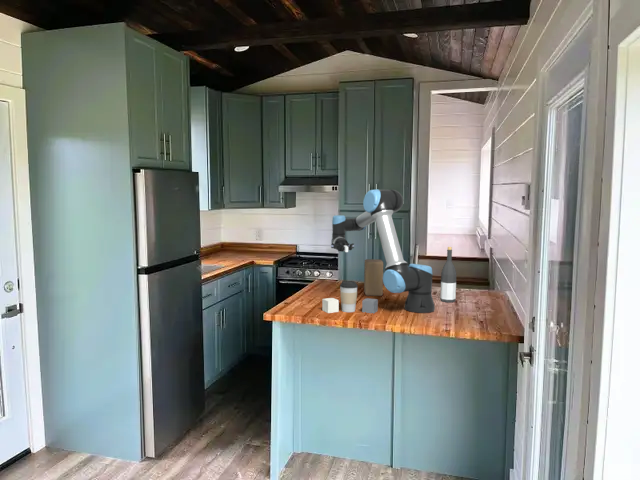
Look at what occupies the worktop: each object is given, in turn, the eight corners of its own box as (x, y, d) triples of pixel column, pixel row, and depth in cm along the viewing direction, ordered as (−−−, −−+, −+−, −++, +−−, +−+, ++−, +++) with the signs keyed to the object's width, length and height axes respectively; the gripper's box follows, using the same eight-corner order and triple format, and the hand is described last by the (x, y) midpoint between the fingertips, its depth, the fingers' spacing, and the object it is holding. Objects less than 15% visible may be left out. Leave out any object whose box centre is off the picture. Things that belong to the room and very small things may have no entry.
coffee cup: (359, 309, 245) (359, 280, 244) (355, 313, 237) (355, 283, 235) (341, 307, 248) (342, 279, 246) (337, 312, 239) (338, 282, 237)
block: (380, 292, 285) (381, 259, 282) (382, 296, 275) (383, 261, 272) (363, 292, 285) (364, 259, 282) (365, 296, 275) (366, 261, 272)
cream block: (338, 311, 240) (338, 300, 239) (328, 313, 237) (328, 301, 236) (332, 309, 245) (332, 297, 244) (322, 310, 242) (322, 298, 241)
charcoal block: (377, 311, 242) (377, 299, 241) (373, 313, 237) (373, 301, 236) (366, 309, 245) (366, 298, 244) (362, 312, 239) (362, 300, 239)
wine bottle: (446, 303, 259) (448, 248, 256) (437, 299, 266) (439, 246, 263) (458, 302, 262) (460, 247, 259) (449, 298, 269) (451, 245, 266)
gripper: (352, 250, 271) (359, 256, 248) (329, 250, 270) (334, 256, 247) (352, 237, 271) (359, 242, 247) (329, 237, 269) (334, 242, 246)
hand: (346, 249), depth 247 cm, fingers closed
